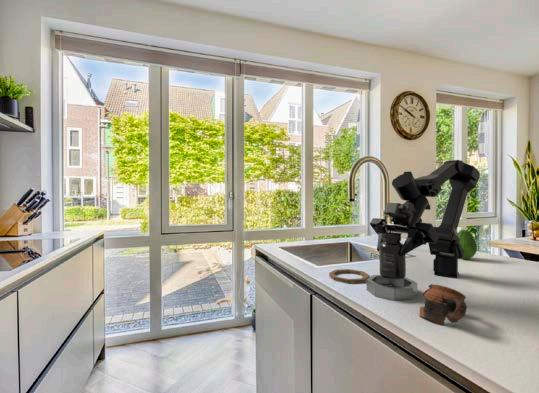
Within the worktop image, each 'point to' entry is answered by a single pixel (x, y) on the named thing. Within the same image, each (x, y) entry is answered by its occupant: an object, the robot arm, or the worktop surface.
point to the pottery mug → (438, 309)
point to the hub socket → (392, 288)
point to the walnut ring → (345, 280)
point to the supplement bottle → (391, 257)
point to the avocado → (467, 244)
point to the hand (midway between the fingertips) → (388, 253)
